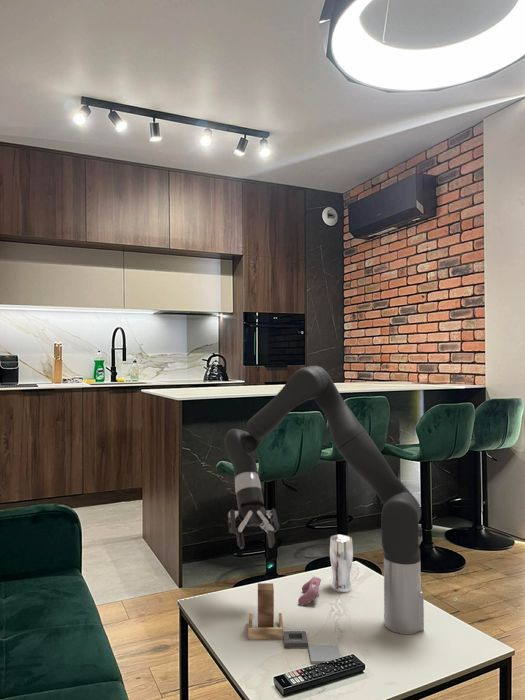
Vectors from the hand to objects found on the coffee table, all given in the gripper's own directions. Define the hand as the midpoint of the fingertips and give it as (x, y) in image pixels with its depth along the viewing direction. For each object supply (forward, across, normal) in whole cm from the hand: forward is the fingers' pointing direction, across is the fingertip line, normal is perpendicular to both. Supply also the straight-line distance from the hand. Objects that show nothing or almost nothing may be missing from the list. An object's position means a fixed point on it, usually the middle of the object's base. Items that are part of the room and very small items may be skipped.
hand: (257, 547), depth 140 cm
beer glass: (+9, +31, +14) cm, 35 cm away
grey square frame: (+24, +5, -3) cm, 25 cm away
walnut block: (+20, 0, +4) cm, 20 cm away
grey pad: (+29, +9, -9) cm, 31 cm away
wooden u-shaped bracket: (+20, 0, +4) cm, 20 cm away
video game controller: (+11, +19, +13) cm, 26 cm away
